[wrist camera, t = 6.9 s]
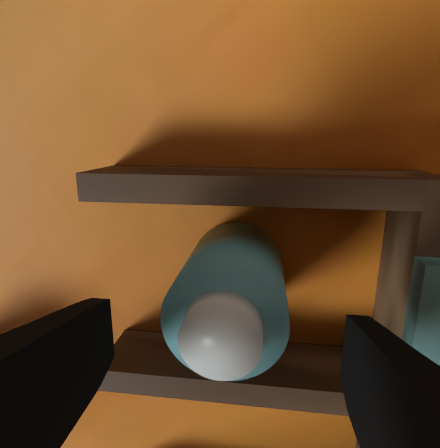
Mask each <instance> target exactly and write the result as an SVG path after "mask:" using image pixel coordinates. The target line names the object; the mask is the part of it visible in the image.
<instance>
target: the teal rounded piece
mask: <svg viewBox="0 0 440 448" xmlns="http://www.w3.org/2000/svg"><path fill="white" fill-rule="evenodd" d="M160 321H161V329H162V333H163V336H164V339H165V341H166V343H167V345H168V347H169V349H170V350H171V351H172V353H173V354H174V356H175V357H176V358H177V359H178V360H179V361H180V362H181V363H183V364H184V365H185V366H186V367H188V368H189V369H191V370H192V371H194V372H196V373H197V374H199V375H201V376H203V377H205V378H208V379H211V380H216V381H239V380H244V379H249V378H252V377H255V376H257V375H259V374H261V373H263V372H264V371H266V370H268V369H269V368H270V367H271V366H272V365H274V364H275V363H276V361H277V360H278V359H279V358H280V357H281V355H282V354H283V352H284V350H285V348H286V346H287V343H288V339H289V334H290V319H289V311H288V304H287V296H286V288H285V281H284V273H283V265H282V259H281V254H280V251H279V249H278V247H277V245H276V244H275V242H274V241H273V239H272V238H271V237H270V236H269V235H268V234H267V233H266V232H264V231H263V230H261V229H260V228H258V227H256V226H253V225H250V224H246V223H240V222H231V223H225V224H222V225H219V226H217V227H215V228H213V229H211V230H210V231H208V232H207V233H206V234H205V235H204V236H203V237H202V238H201V240H200V241H199V243H198V244H197V246H196V247H195V249H194V251H193V252H192V254H191V255H190V257H189V259H188V260H187V262H186V263H185V265H184V267H183V268H182V270H181V271H180V273H179V275H178V276H177V278H176V279H175V281H174V283H173V284H172V286H171V287H170V289H169V291H168V292H167V294H166V296H165V298H164V301H163V304H162V308H161V319H160Z"/></svg>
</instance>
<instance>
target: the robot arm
mask: <svg viewBox="0 0 440 448" xmlns="http://www.w3.org/2000/svg"><path fill="white" fill-rule="evenodd" d="M114 356H115V354H114V342H113V330H112V318H111V306H110V299H100V298H90V299H86V300H83V301H80V302H78V303H75V304H73V305H70V306H68V307H65V308H63V309H61V310H58V311H56V312H54V313H51V314H49V315H47V316H44V317H42V318H40V319H37V320H35V321H33V322H30V323H28V324H25V325H23V326H20V327H18V328H15V329H13V330H10V331H8V332H5V333H3V334H0V448H60V447H61V446H62V444H63V443H64V441H65V440H66V438H67V437H68V435H69V434H70V432H71V431H72V429H73V428H74V426H75V425H76V423H77V421H78V420H79V418H80V417H81V415H82V414H83V412H84V411H85V409H86V408H87V406H88V405H89V403H90V402H91V400H92V398H93V397H94V395H95V394H96V392H97V391H98V389H99V387H100V386H101V384H102V382H103V380H104V378H105V376H106V374H107V372H108V370H109V367H110V365H111V363H112V361H113V359H114ZM340 378H341V383H342V389H343V394H344V398H345V403H346V407H347V411H348V414H349V417H350V420H351V423H352V426H353V429H354V432H355V435H356V438H357V441H358V444H359V447H360V448H440V366H439V365H438V364H436V363H435V362H433V361H432V360H430V359H429V358H427V357H426V356H424V355H423V354H422V353H420V352H419V351H417V350H416V349H414V348H413V347H412V346H410V345H409V344H408V343H406V342H405V341H403V340H402V339H401V338H399V337H398V336H397V335H395V334H394V333H392V332H391V331H390V330H388V329H387V328H386V327H384V326H383V325H381V324H380V323H379V322H377V321H376V320H374V319H373V318H371V317H369V316H360V315H346V323H345V333H344V342H343V352H342V361H341V370H340Z"/></svg>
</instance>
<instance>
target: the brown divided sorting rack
mask: <svg viewBox="0 0 440 448" xmlns="http://www.w3.org/2000/svg"><path fill="white" fill-rule="evenodd" d="M76 180H77V190H78V199H79V201H84V202H118V203H151V204H185V205H219V206H252V207H286V208H320V209H354V210H387V214H386V222H385V229H384V237H383V245H382V252H381V260H380V268H379V275H378V283H377V291H376V298H375V306H374V314H373V319H374V320H376V321H377V322H379V323H380V324H381V325H383V326H384V327H386V328H387V329H388V330H390V331H391V332H392V333H394V334H395V335H397V336H398V337H399V338H401V339H402V340H403V341H405V342H406V343H408V344H409V345H410V346H412V347H413V348H414V349H416V350H417V351H419V352H420V353H422V354H423V355H424V356H426V357H427V358H429V359H430V360H432V361H433V362H435V363H436V364H438V365H439V366H440V175H436V174H432V173H428V172H423V171H416V170H353V169H289V168H226V167H162V166H109V167H104V168H99V169H94V170H89V171H84V172H79V173H76ZM342 352H343V347H341V346H329V345H316V344H303V343H290V342H288V343H287V346H286V348H285V350H284V352H283V354H282V355H281V357H280V358H279V359H278V360H277V361H276V363H275V364H274V365H272V366H271V367H270V368H269V369H268V370H266V371H264V372H263V373H261V374H259V375H257V376H255V377H252V378H249V379H244V380H239V381H216V380H211V379H208V378H205V377H203V376H201V375H199V374H197V373H196V372H194V371H192V370H191V369H189V368H188V367H186V366H185V365H184V364H183V363H181V362H180V361H179V360H178V359H177V358H176V357H175V356H174V354H173V353H172V351H171V350H170V349H169V347H168V345H167V343H166V341H165V339H164V336H163V333H161V332H148V331H135V330H124V332H123V333H122V335H121V336H120V337H119V339H118V340H117V342H116V343H115V344H114V354H115V356H114V359H113V361H112V363H111V365H110V367H109V370H108V372H107V374H106V376H105V378H104V380H103V382H102V384H101V386H100V387H99V389H98V391H107V392H117V393H127V394H137V395H147V396H156V397H166V398H176V399H186V400H196V401H206V402H216V403H225V404H235V405H245V406H255V407H265V408H275V409H285V410H294V411H304V412H314V413H324V414H334V415H344V416H349V414H348V411H347V407H346V403H345V398H344V394H343V389H342V383H341V378H340V370H341V361H342ZM356 448H360V447H359V444H358V441H357V444H356Z"/></svg>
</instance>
